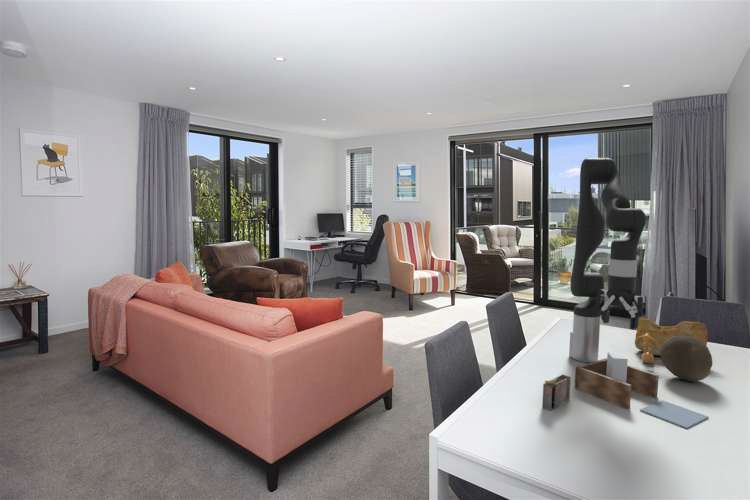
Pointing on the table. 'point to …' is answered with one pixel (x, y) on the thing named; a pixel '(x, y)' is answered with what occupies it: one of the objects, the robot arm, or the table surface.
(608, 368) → the skincare box
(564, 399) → the brown upright block
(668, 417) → the mat
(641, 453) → the table surface
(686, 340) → the brown rock
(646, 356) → the figurine
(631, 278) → the robot arm
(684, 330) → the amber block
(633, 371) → the open side box
